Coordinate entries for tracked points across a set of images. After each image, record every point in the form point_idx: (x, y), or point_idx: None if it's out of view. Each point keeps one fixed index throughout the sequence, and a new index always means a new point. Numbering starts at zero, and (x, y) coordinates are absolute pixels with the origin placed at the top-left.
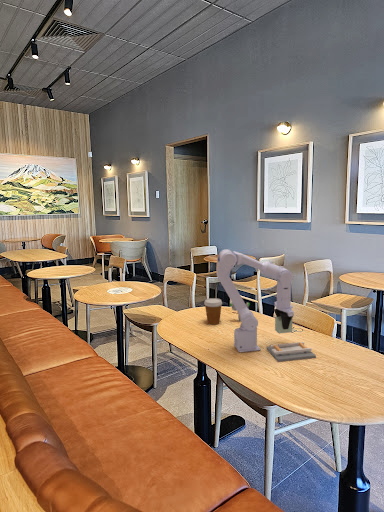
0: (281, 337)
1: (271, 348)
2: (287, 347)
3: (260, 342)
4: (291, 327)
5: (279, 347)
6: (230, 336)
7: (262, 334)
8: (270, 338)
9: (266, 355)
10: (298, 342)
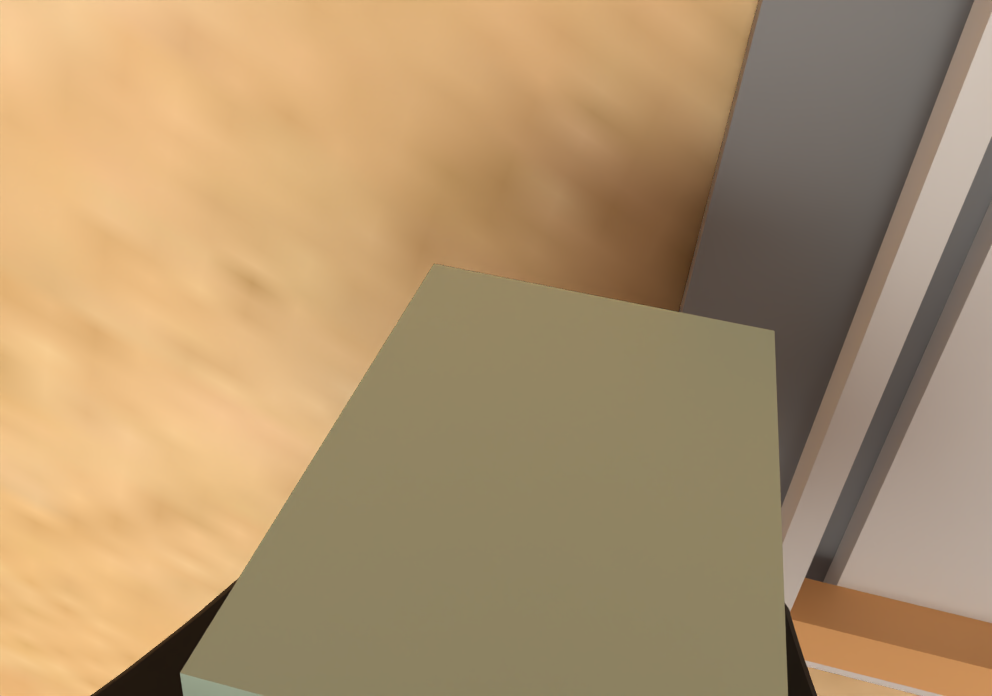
0: (197, 28)
1: None
2: (923, 410)
3: None
4: (771, 478)
5: None
6: (63, 685)
7: (11, 296)
8: (211, 273)
9: (826, 691)
10: (968, 93)
